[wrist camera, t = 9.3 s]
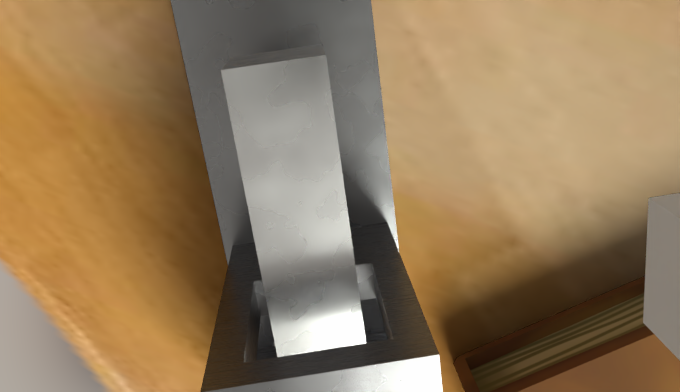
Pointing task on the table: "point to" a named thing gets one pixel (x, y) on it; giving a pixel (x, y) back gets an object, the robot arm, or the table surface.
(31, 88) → the table surface
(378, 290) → the grey slotted frame stand
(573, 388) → the diary
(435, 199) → the table surface
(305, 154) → the light grey square rod
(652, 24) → the table surface
